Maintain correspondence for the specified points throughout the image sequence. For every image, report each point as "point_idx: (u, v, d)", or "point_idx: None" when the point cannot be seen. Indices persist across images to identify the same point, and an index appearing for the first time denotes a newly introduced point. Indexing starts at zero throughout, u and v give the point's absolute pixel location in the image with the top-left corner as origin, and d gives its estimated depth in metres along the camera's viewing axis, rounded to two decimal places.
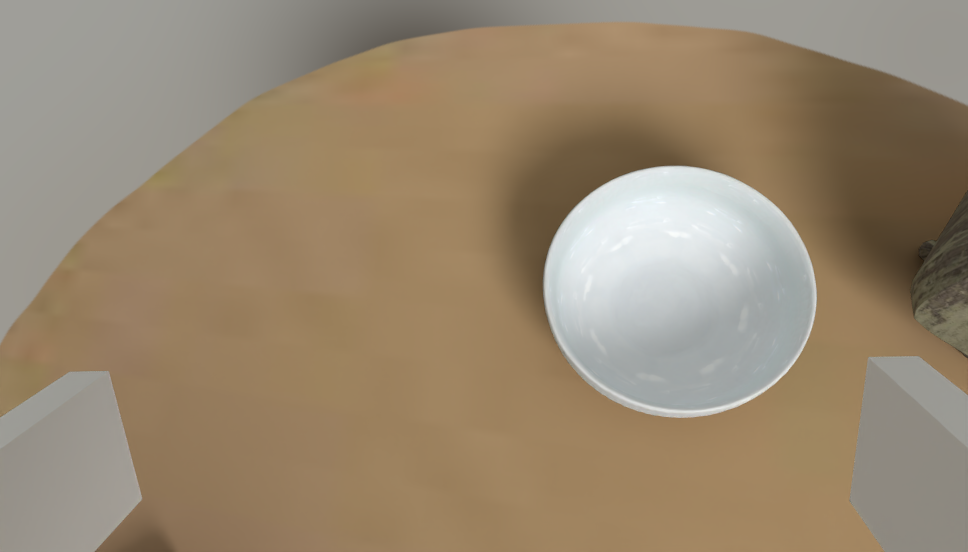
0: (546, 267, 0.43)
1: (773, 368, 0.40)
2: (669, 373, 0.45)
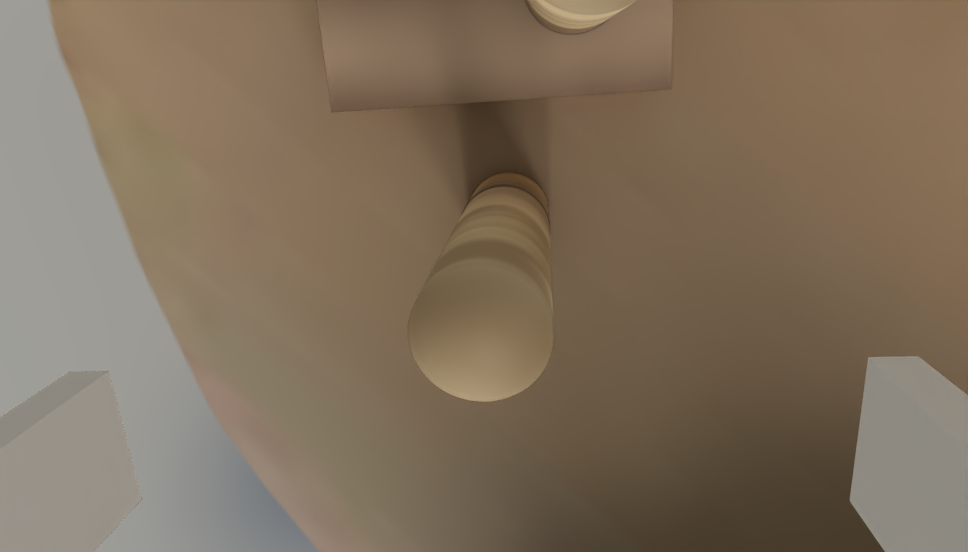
0: None
1: None
2: None
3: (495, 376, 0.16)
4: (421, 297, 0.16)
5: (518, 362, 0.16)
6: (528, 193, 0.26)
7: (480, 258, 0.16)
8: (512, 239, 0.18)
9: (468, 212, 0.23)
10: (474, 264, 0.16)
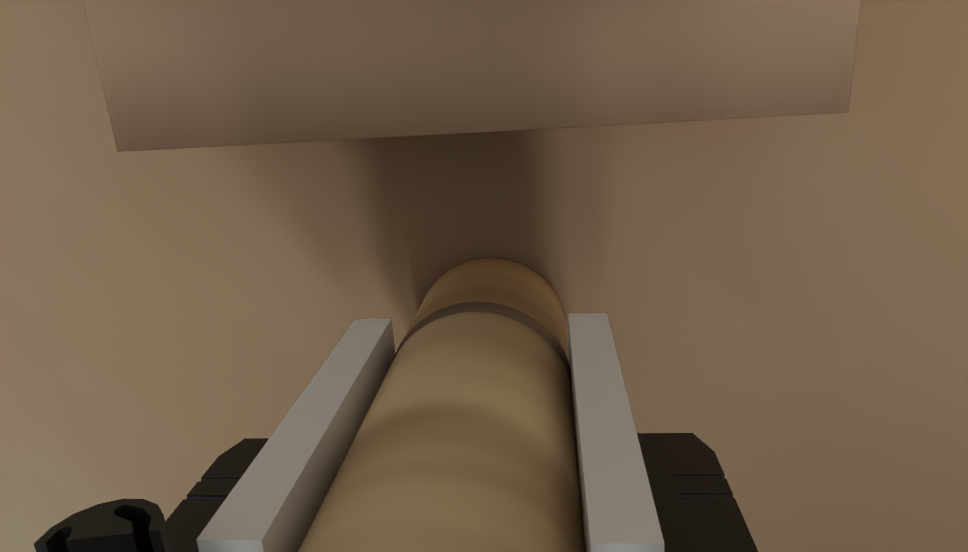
0: None
1: None
2: None
3: None
4: None
5: None
6: (528, 327, 0.12)
7: None
8: None
9: (384, 409, 0.09)
10: None
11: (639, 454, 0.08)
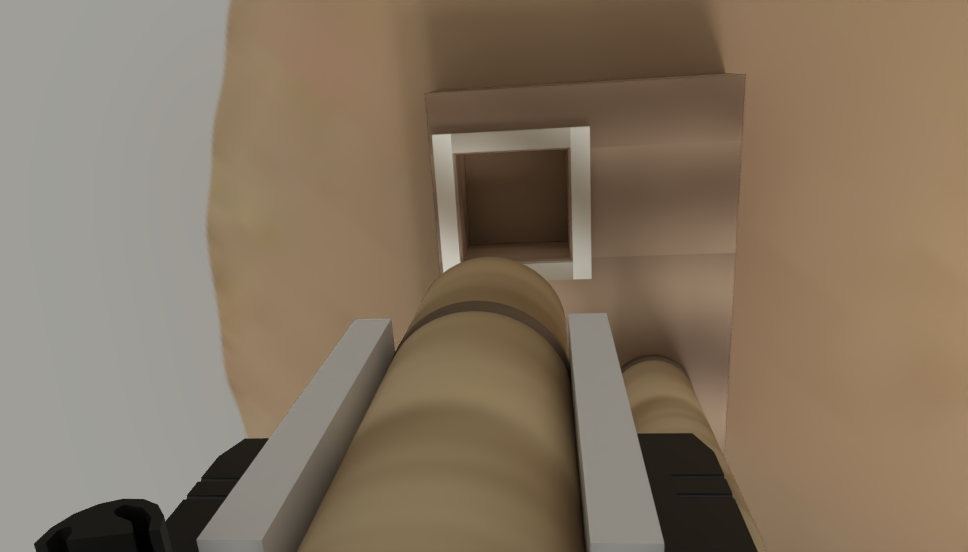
0: None
1: None
2: None
3: None
4: None
5: None
6: (528, 326, 0.12)
7: None
8: None
9: (383, 408, 0.09)
10: None
11: (639, 454, 0.08)
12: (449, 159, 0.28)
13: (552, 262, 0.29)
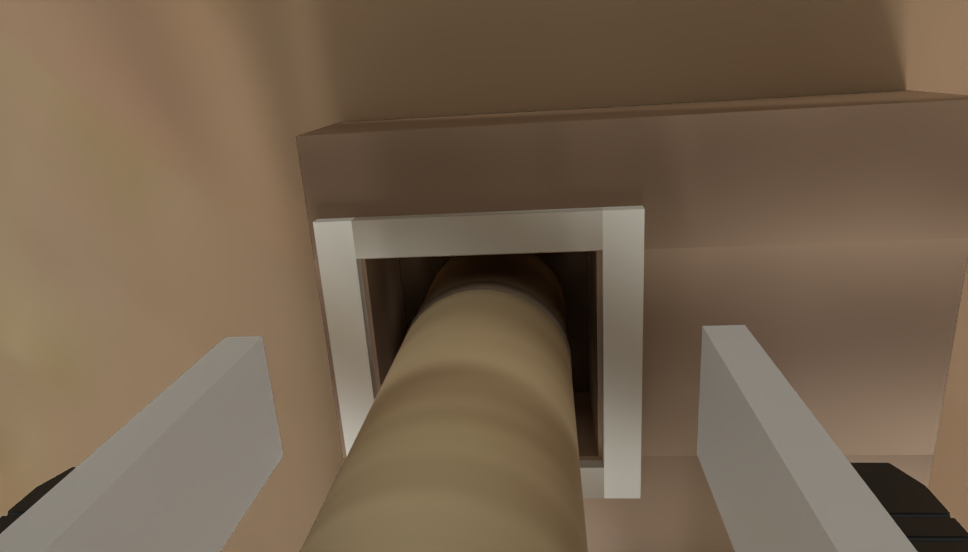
0: None
1: None
2: None
3: None
4: None
5: None
6: (531, 303, 0.13)
7: None
8: None
9: (402, 371, 0.11)
10: None
11: (869, 492, 0.07)
12: (350, 270, 0.14)
13: None
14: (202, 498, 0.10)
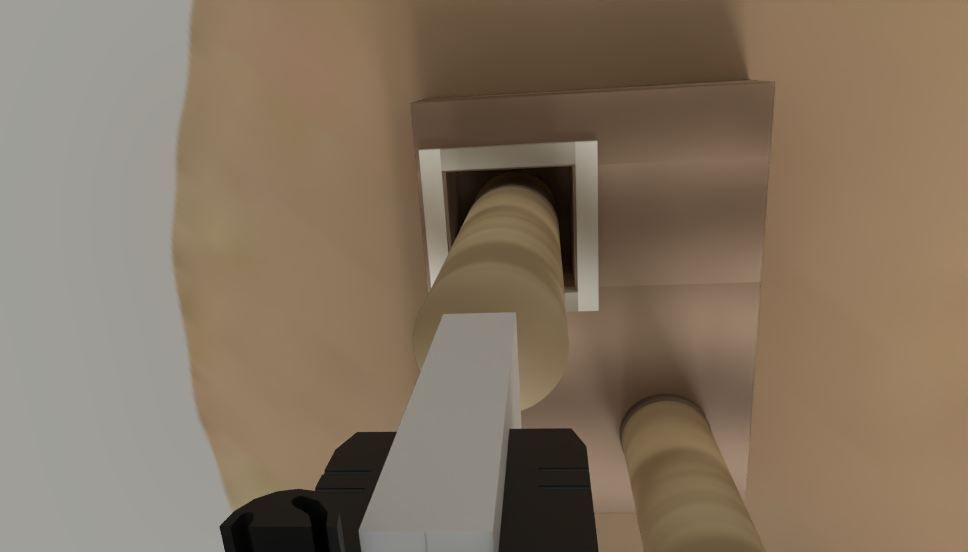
0: None
1: None
2: None
3: None
4: (427, 303, 0.15)
5: (530, 374, 0.15)
6: (537, 193, 0.24)
7: (491, 262, 0.15)
8: (523, 242, 0.17)
9: (475, 213, 0.22)
10: (485, 269, 0.15)
11: (499, 447, 0.09)
12: (438, 177, 0.25)
13: None
14: None
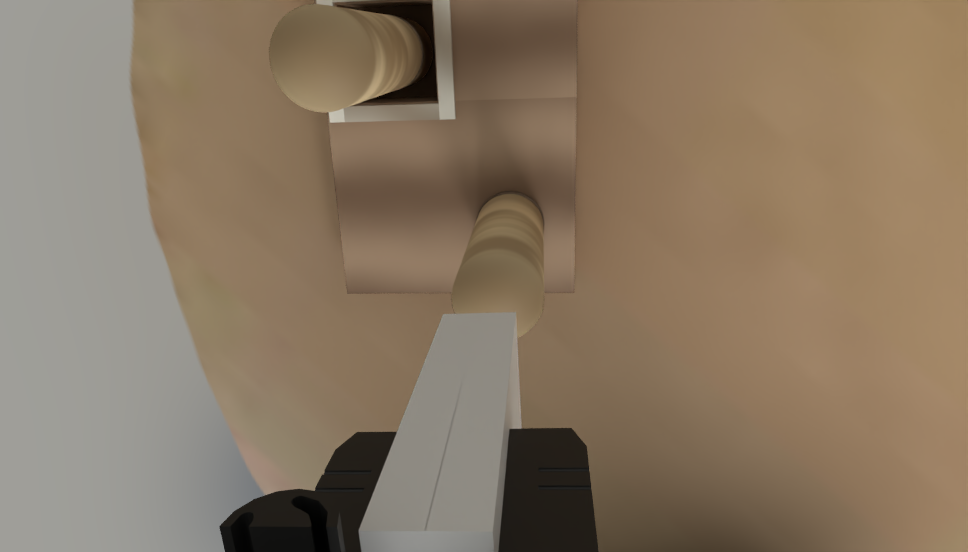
0: None
1: None
2: None
3: (331, 92, 0.23)
4: (277, 28, 0.23)
5: (347, 80, 0.23)
6: (404, 20, 0.32)
7: None
8: (358, 12, 0.25)
9: None
10: (314, 4, 0.23)
11: (499, 447, 0.09)
12: None
13: (421, 104, 0.34)
14: None
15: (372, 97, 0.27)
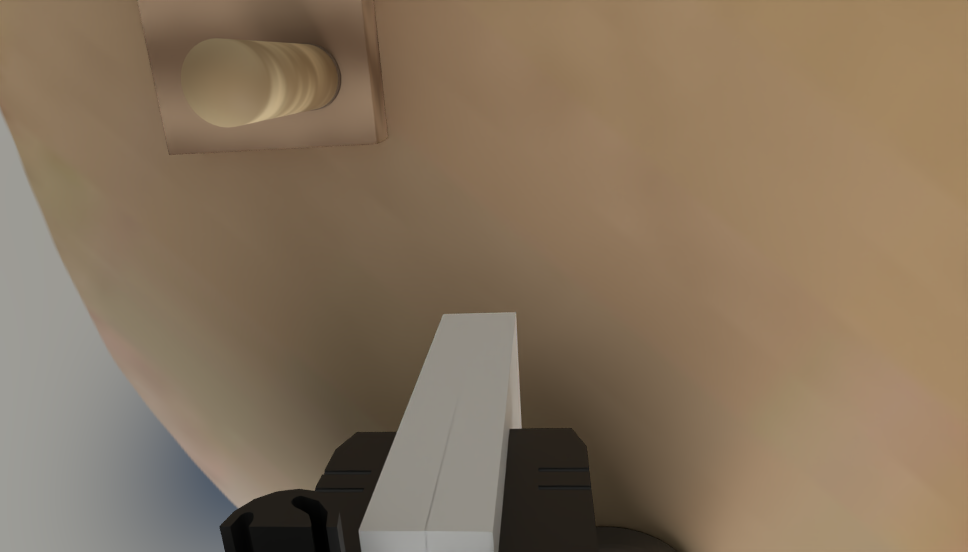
0: None
1: None
2: None
3: None
4: None
5: None
6: None
7: None
8: None
9: None
10: None
11: (499, 447, 0.09)
12: None
13: None
14: None
15: None
